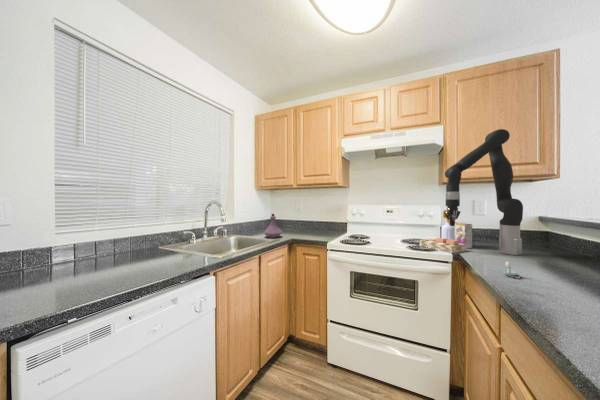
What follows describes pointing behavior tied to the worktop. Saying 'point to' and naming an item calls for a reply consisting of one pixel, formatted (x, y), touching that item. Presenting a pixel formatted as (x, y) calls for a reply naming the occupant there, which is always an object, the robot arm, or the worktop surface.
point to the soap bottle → (447, 229)
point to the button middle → (441, 240)
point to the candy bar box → (463, 233)
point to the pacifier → (510, 271)
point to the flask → (272, 229)
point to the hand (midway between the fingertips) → (452, 225)
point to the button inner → (452, 242)
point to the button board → (443, 246)
